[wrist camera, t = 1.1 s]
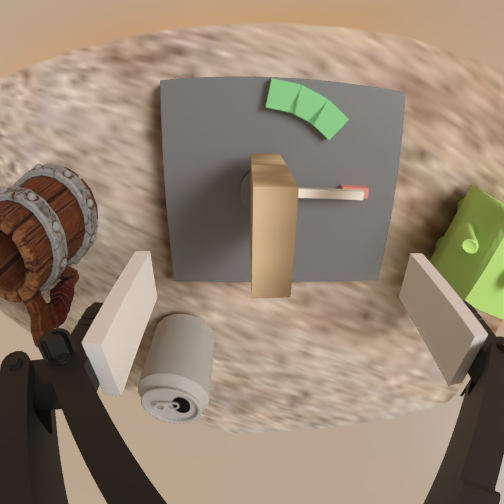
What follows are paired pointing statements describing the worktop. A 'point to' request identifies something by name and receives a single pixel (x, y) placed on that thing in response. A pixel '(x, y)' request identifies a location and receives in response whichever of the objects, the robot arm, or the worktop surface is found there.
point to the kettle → (475, 252)
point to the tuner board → (297, 160)
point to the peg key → (276, 221)
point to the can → (178, 369)
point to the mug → (44, 241)
